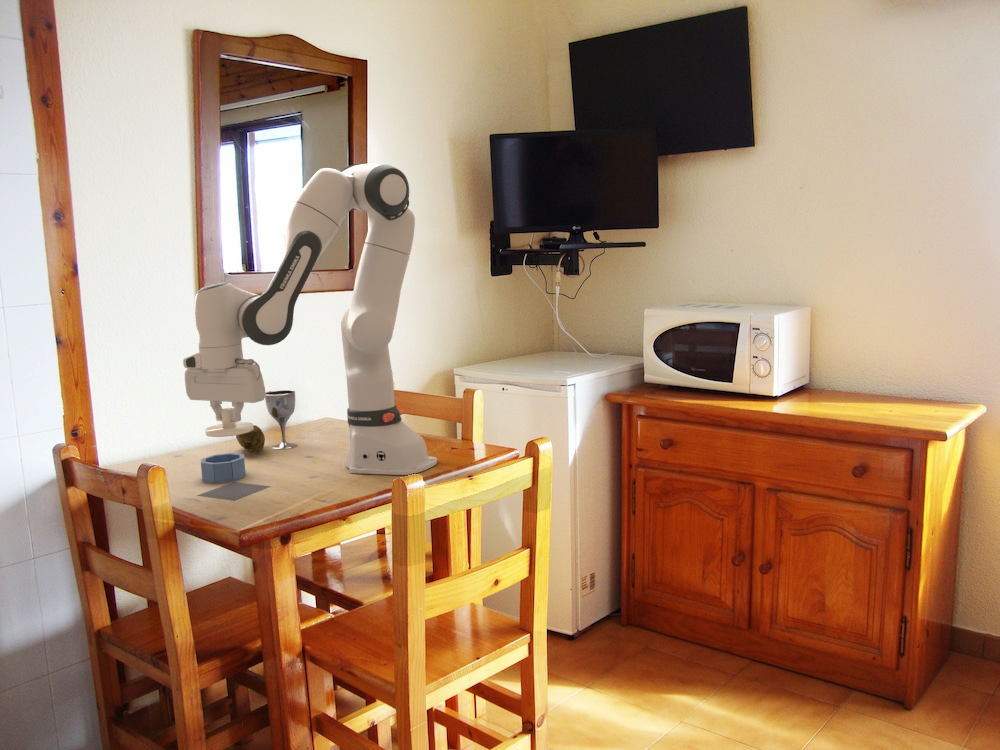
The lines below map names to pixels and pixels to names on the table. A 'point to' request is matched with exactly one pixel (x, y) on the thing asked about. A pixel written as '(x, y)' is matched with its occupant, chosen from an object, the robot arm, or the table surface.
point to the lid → (228, 426)
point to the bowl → (223, 468)
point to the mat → (233, 491)
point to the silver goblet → (281, 412)
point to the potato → (252, 439)
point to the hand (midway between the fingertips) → (228, 421)
